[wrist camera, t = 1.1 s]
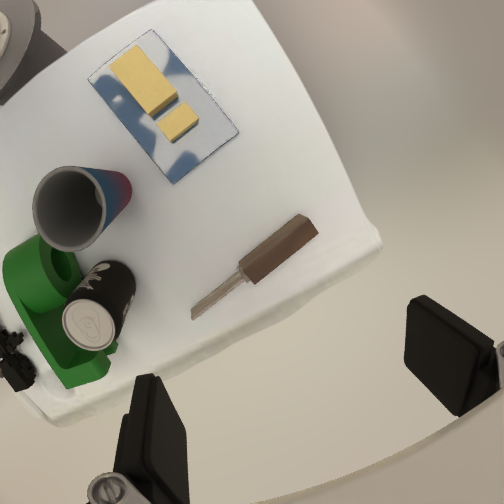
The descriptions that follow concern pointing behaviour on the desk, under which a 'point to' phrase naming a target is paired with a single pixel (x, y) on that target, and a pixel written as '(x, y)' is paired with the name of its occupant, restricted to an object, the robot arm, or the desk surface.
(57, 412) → the desk surface
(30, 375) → the toy
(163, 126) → the butter pat
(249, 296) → the desk surface
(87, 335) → the beverage can
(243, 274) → the knife
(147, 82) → the butter bar
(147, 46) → the butter plate
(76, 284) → the tape dispenser
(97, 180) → the cup
